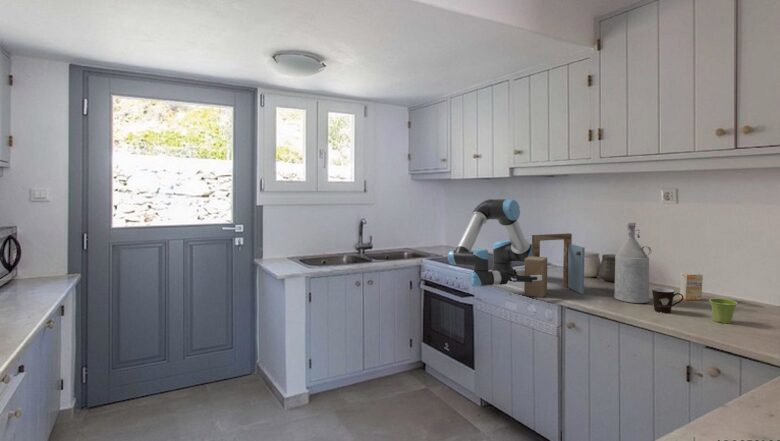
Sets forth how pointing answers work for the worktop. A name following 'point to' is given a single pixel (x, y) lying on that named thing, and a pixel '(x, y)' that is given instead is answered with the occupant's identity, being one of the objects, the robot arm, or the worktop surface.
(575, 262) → the door
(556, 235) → the door frame
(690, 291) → the supplement box
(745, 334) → the worktop surface
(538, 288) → the wooden block
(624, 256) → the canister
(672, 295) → the coffee mug
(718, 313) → the plant pot
